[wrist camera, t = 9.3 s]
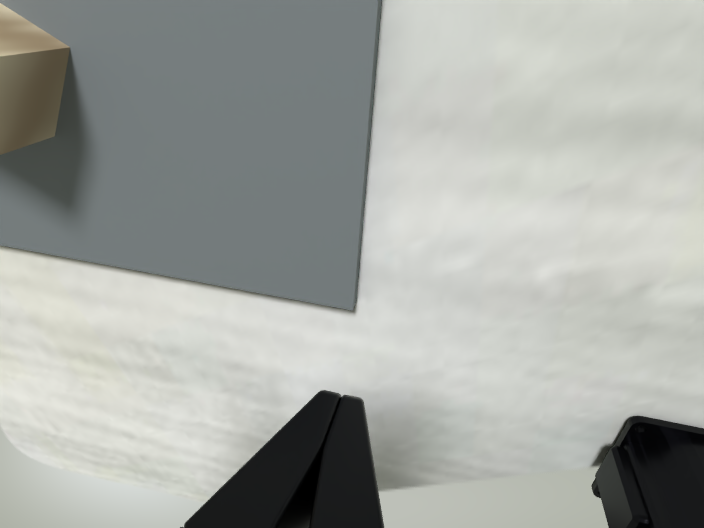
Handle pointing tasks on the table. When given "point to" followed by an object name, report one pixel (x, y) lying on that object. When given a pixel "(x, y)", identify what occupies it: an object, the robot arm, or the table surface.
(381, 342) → the table surface
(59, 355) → the table surface
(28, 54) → the beech block
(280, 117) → the slate mat
